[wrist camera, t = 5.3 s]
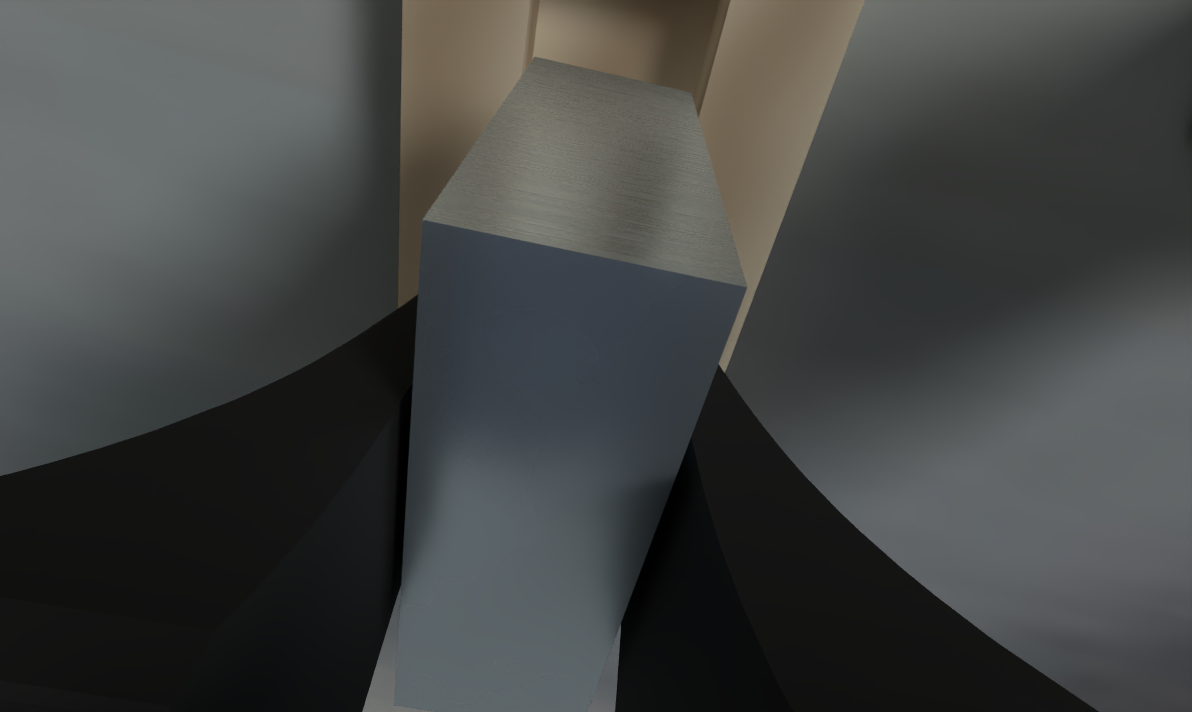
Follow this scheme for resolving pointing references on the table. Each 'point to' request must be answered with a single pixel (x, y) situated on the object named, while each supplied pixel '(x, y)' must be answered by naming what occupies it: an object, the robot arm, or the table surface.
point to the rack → (638, 51)
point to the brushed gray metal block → (555, 384)
